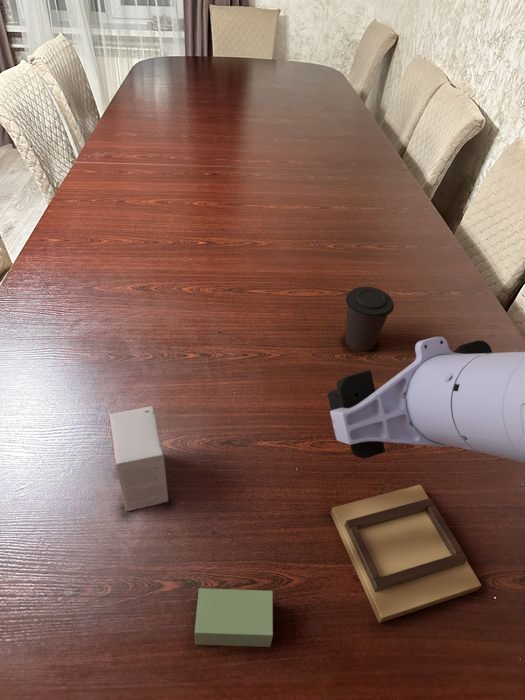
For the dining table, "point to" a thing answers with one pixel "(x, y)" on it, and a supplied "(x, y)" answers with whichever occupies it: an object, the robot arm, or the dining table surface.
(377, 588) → the wooden base with frame
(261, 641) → the green rectangular block
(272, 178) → the dining table surface
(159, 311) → the dining table surface
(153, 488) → the small box
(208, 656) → the dining table surface
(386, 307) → the coffee cup
